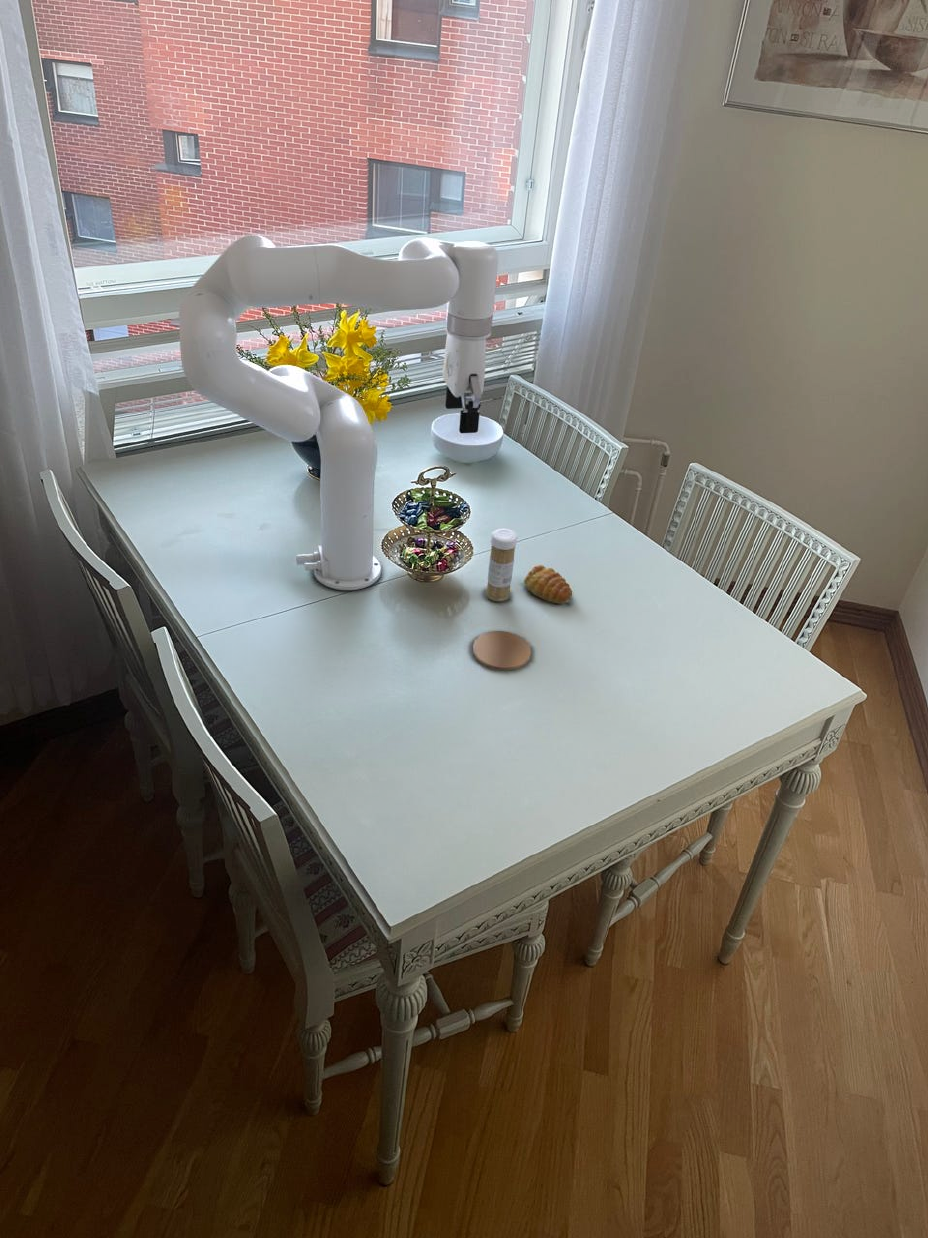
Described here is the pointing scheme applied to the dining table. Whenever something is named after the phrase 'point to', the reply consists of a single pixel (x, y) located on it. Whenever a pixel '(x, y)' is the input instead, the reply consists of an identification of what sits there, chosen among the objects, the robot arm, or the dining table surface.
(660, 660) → the dining table surface
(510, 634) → the copper coaster
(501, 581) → the sprinkles bottle
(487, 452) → the cereal bowl
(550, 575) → the pastry
